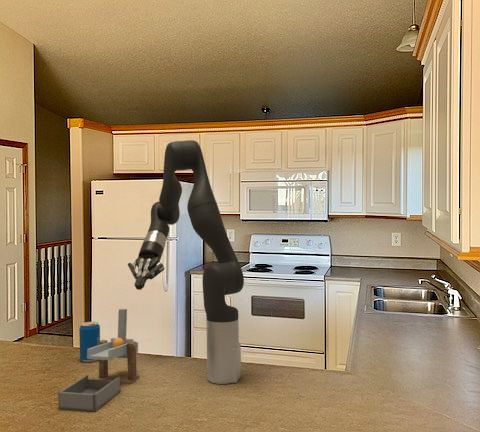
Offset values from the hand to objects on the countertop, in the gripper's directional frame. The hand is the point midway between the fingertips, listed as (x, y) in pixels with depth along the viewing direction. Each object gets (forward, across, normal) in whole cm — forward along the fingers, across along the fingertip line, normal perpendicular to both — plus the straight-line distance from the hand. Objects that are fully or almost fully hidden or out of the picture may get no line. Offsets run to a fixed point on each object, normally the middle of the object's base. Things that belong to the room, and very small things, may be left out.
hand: (138, 288), depth 152 cm
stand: (+28, 0, +7) cm, 28 cm away
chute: (+25, 0, +1) cm, 25 cm away
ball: (+20, 0, 0) cm, 20 cm away
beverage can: (+16, -18, +18) cm, 30 cm away
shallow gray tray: (+38, 0, -4) cm, 38 cm away
